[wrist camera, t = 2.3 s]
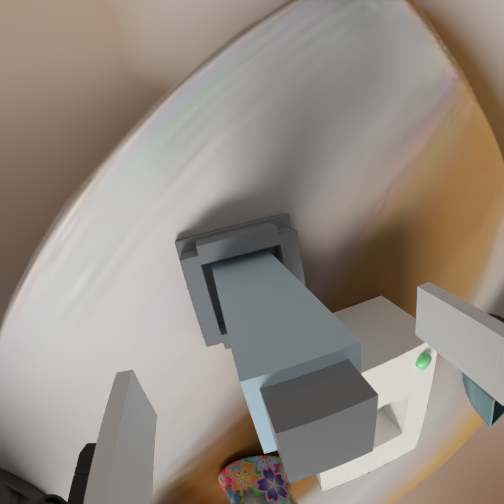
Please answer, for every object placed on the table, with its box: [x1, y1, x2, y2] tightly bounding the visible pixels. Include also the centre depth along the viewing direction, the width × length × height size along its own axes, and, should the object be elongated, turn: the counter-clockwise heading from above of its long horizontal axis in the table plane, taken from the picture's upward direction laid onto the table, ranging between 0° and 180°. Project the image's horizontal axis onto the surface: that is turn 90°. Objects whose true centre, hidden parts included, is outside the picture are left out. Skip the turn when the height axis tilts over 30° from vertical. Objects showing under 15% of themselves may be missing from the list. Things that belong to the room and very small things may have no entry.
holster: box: [175, 214, 306, 349], centre depth 21 cm, size 8×8×2 cm
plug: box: [211, 249, 378, 483], centre depth 15 cm, size 4×4×15 cm
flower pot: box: [463, 373, 504, 428], centre depth 28 cm, size 9×9×9 cm
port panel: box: [315, 296, 437, 491], centre depth 22 cm, size 10×14×8 cm
